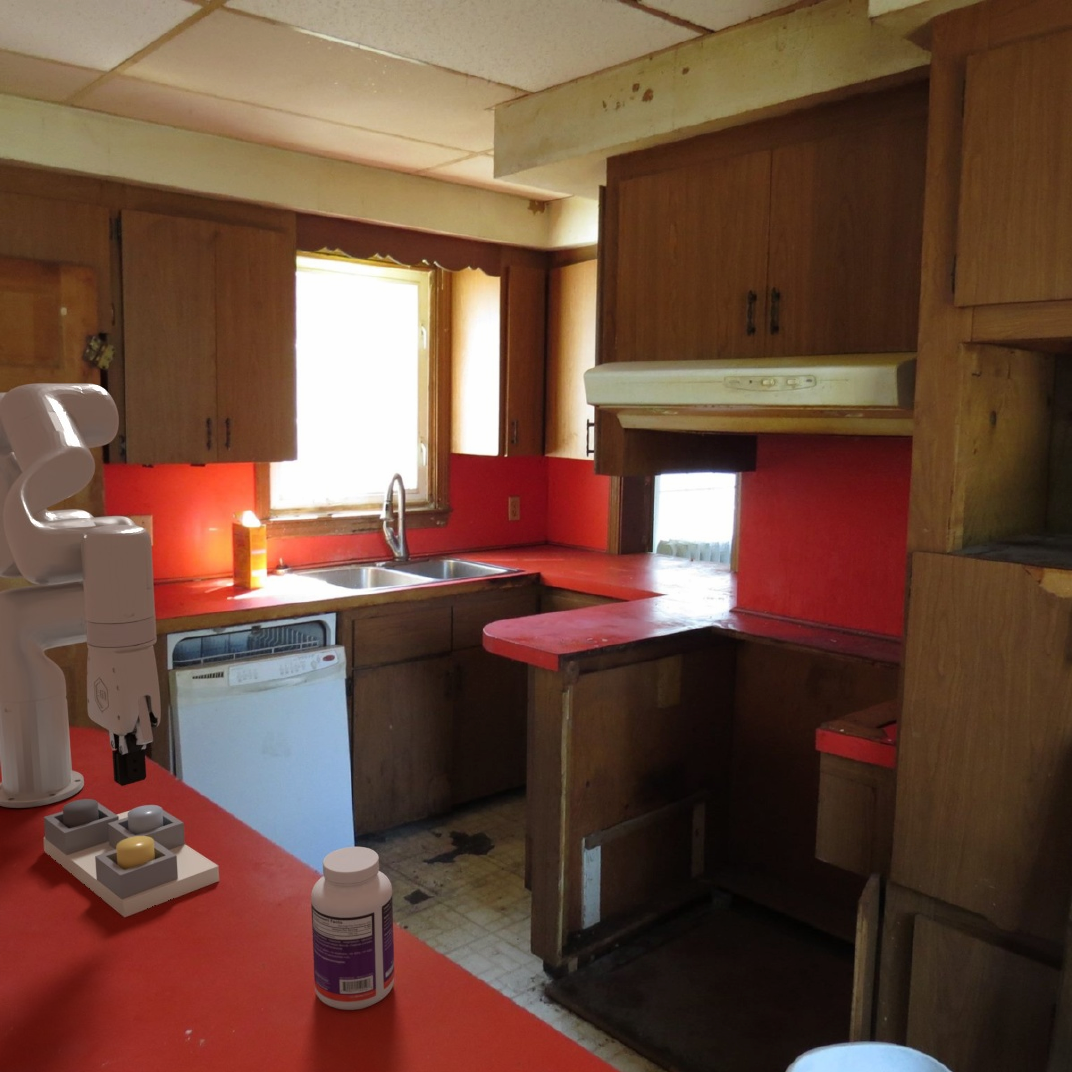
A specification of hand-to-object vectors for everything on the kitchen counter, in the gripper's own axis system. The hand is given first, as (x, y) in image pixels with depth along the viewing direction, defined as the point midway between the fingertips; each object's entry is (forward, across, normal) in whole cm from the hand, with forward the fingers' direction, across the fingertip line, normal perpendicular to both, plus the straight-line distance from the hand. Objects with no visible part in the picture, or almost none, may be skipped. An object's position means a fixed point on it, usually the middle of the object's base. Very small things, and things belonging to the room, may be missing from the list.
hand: (130, 780), depth 120 cm
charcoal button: (+12, -16, 0) cm, 20 cm away
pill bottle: (+14, +35, +6) cm, 39 cm away
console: (+14, -8, +2) cm, 17 cm away
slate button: (+12, -8, +5) cm, 15 cm away
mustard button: (+12, 0, 0) cm, 12 cm away
